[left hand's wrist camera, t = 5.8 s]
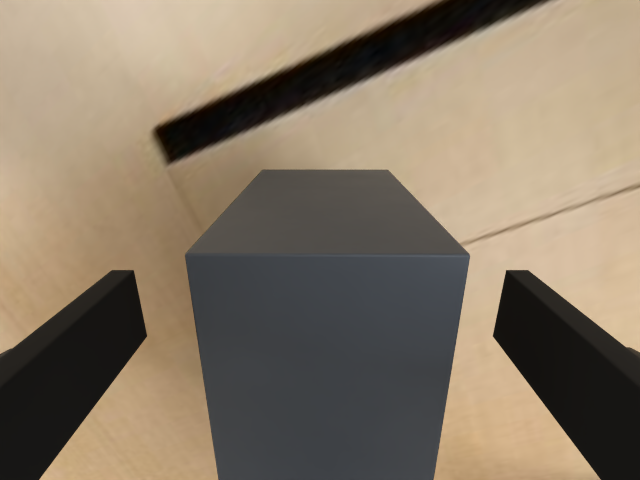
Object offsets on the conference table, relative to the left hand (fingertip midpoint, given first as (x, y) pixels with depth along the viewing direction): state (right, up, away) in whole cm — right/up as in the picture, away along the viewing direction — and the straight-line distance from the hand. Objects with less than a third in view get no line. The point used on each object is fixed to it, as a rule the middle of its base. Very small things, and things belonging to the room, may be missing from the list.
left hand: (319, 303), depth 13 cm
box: (0, -4, +8) cm, 9 cm away
